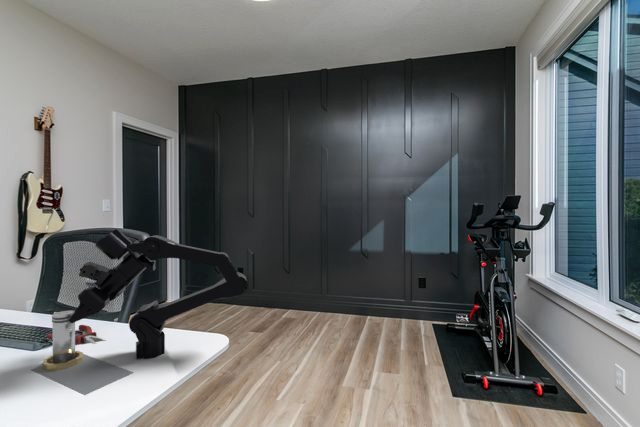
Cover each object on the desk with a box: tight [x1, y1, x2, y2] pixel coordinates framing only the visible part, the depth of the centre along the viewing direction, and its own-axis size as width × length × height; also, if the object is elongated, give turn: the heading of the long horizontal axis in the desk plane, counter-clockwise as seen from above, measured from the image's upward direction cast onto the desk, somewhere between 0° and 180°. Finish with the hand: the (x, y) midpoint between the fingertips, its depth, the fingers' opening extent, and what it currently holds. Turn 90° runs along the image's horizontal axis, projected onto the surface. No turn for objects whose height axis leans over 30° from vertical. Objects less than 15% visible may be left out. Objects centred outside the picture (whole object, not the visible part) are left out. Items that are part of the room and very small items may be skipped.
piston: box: [51, 310, 76, 364], centre depth 84 cm, size 5×5×13 cm
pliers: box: [45, 324, 107, 346], centre depth 102 cm, size 12×20×3 cm, turn 65°
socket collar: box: [42, 350, 84, 371], centre depth 84 cm, size 8×8×2 cm
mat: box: [30, 353, 135, 396], centre depth 80 cm, size 24×11×1 cm, turn 63°
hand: (78, 316), depth 85 cm, fingers open, 9 cm apart
